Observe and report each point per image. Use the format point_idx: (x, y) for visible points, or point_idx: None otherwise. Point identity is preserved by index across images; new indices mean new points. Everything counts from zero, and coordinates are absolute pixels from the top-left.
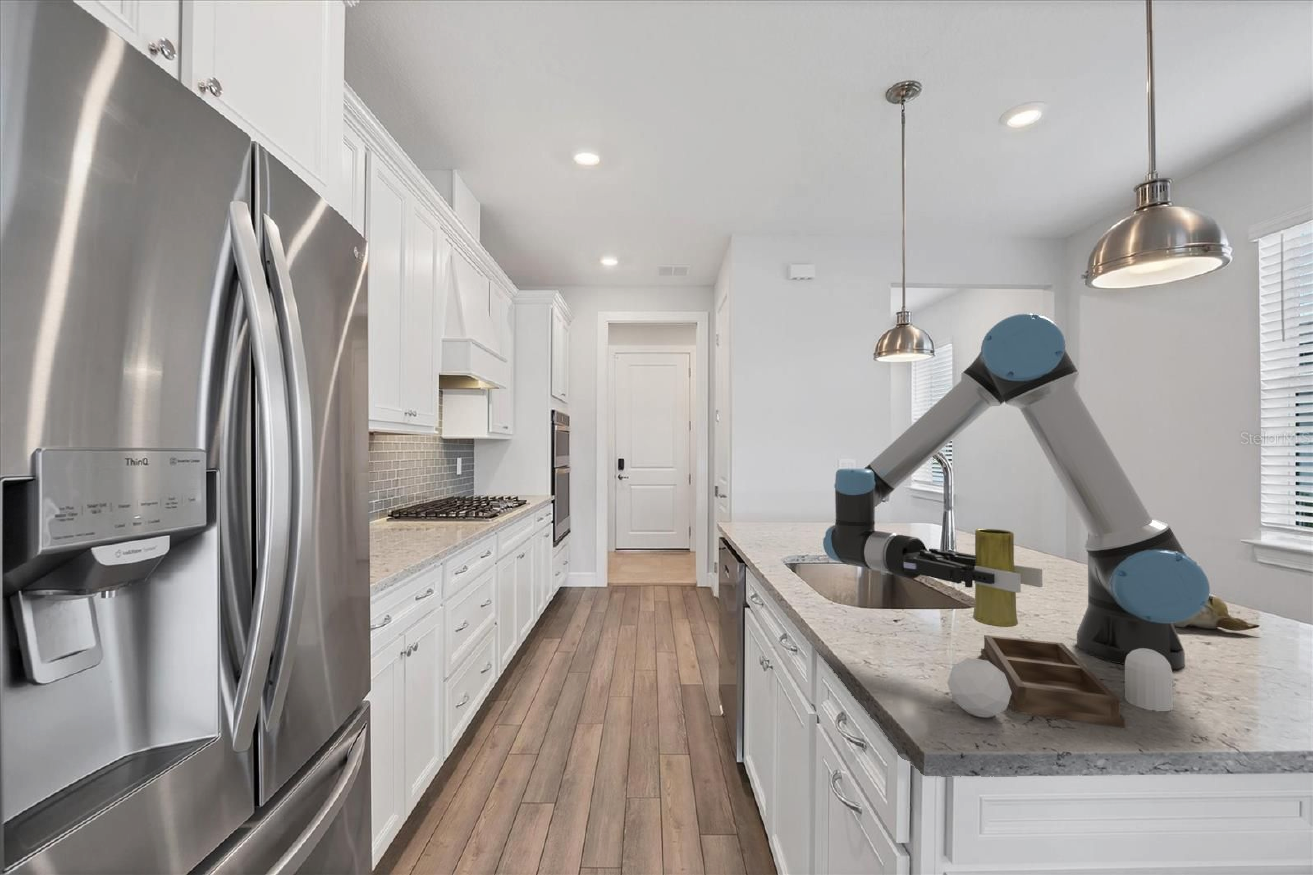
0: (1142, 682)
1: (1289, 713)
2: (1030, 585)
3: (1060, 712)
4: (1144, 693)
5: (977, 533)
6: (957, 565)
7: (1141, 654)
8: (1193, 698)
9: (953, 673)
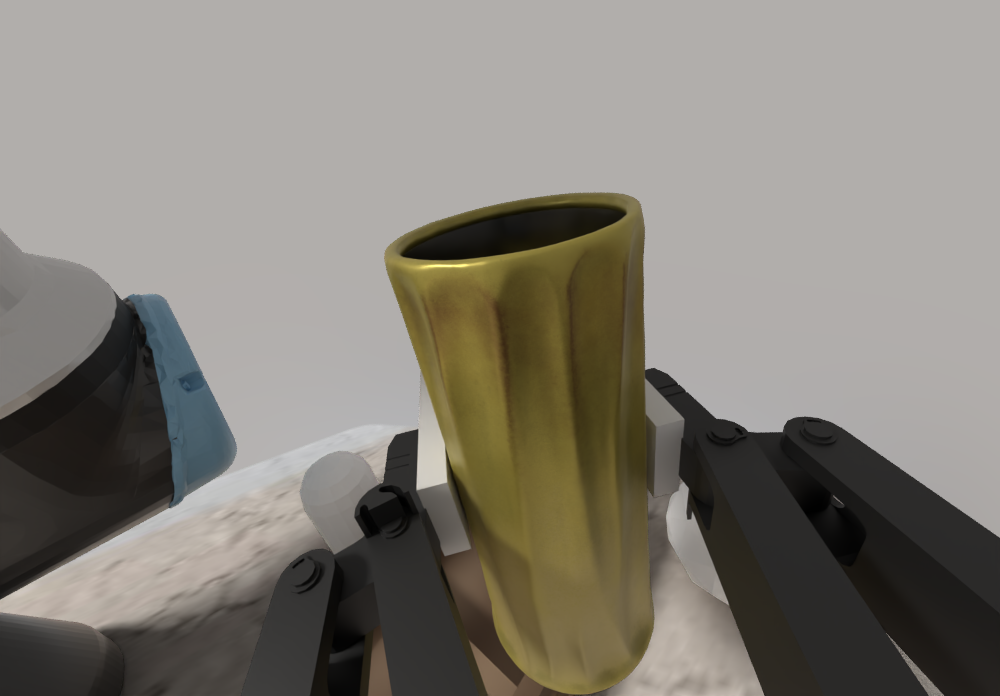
0: None
1: (253, 472)
2: None
3: None
4: None
5: (644, 228)
6: (786, 489)
7: (348, 464)
8: (278, 528)
9: None
